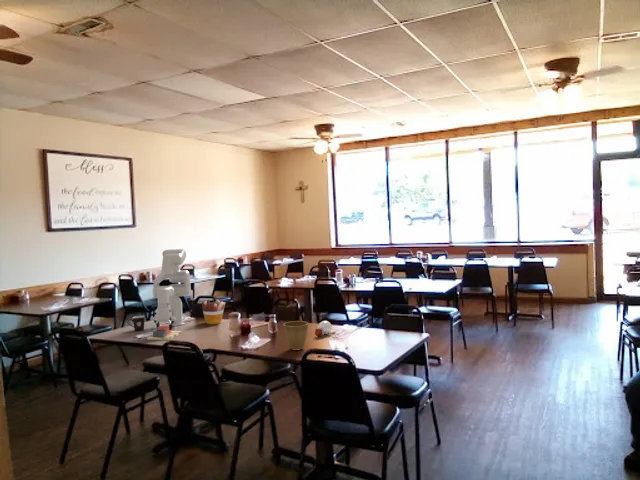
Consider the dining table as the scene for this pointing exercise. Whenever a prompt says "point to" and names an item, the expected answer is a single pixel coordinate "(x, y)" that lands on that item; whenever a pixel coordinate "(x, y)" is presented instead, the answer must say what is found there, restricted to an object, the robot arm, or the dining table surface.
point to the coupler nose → (159, 333)
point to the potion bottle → (323, 328)
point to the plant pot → (296, 333)
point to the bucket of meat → (213, 311)
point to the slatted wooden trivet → (169, 336)
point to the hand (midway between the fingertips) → (164, 329)
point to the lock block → (164, 328)
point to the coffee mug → (138, 323)
